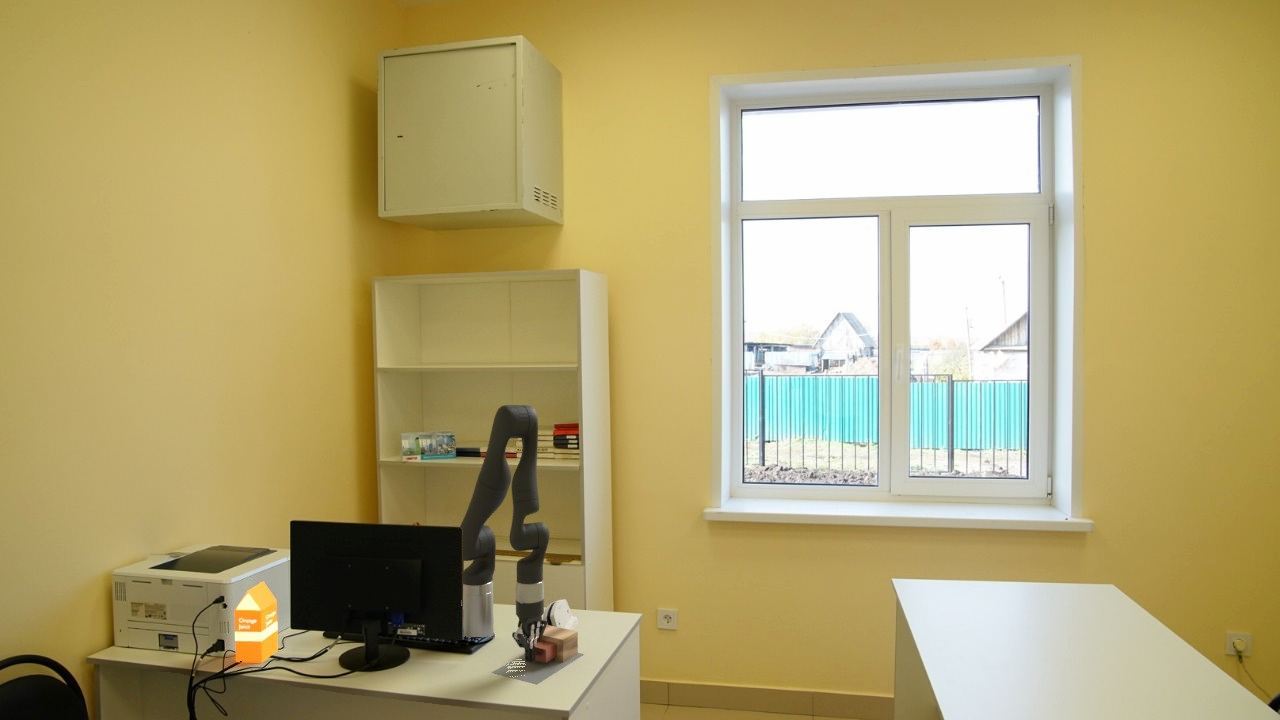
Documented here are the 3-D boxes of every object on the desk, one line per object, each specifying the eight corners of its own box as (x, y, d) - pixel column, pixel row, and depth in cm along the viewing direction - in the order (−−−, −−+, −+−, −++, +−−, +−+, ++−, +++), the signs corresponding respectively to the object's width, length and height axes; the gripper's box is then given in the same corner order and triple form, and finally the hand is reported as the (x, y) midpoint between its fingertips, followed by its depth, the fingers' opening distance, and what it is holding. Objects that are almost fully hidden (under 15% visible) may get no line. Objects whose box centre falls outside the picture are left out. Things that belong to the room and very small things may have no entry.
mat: (491, 673, 217) (491, 672, 217) (541, 644, 236) (541, 644, 236) (537, 685, 209) (537, 684, 209) (584, 654, 228) (584, 654, 228)
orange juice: (235, 662, 225) (233, 590, 224) (252, 649, 234) (250, 580, 233) (262, 662, 225) (260, 591, 224) (278, 650, 233) (277, 581, 233)
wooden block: (530, 654, 228) (530, 632, 228) (545, 646, 234) (545, 624, 234) (563, 662, 223) (563, 639, 223) (577, 653, 229) (577, 631, 229)
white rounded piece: (565, 642, 237) (554, 610, 238) (551, 647, 238) (539, 615, 238) (579, 622, 254) (568, 592, 254) (565, 626, 255) (554, 596, 255)
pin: (546, 666, 220) (545, 649, 219) (525, 661, 223) (525, 645, 223) (577, 647, 233) (577, 631, 233) (558, 642, 236) (557, 627, 236)
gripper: (533, 588, 226) (534, 650, 227) (503, 601, 215) (503, 666, 215) (555, 592, 223) (555, 655, 223) (525, 606, 211) (526, 672, 212)
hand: (530, 660), depth 219 cm, fingers closed
